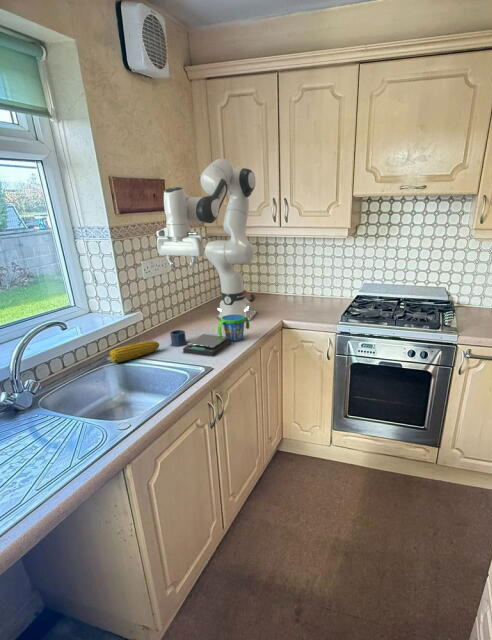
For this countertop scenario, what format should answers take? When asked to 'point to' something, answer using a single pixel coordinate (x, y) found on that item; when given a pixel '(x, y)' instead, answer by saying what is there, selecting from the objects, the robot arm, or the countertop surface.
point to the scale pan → (207, 341)
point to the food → (133, 351)
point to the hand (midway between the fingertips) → (182, 267)
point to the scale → (207, 349)
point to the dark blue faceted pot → (178, 338)
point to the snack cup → (233, 326)
